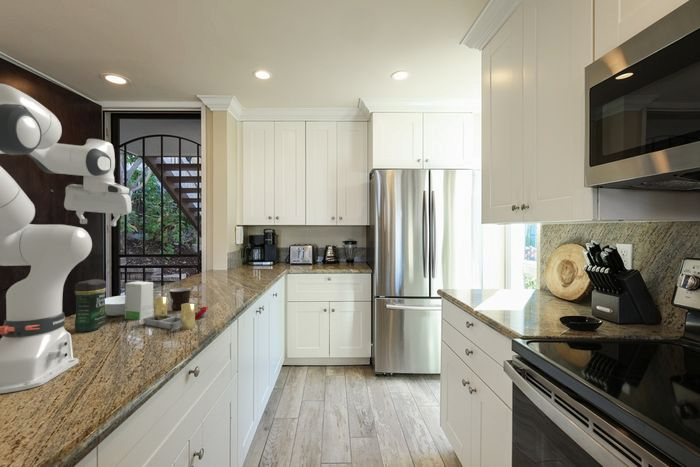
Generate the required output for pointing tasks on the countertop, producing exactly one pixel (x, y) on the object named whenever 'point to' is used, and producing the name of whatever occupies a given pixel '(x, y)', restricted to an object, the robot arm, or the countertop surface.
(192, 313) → the billet
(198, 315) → the strawberry
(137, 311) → the skincare box
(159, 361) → the countertop surface
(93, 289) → the coffee jar
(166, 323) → the grey tray
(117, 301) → the serving bowl
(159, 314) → the billet
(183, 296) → the coffee mug
